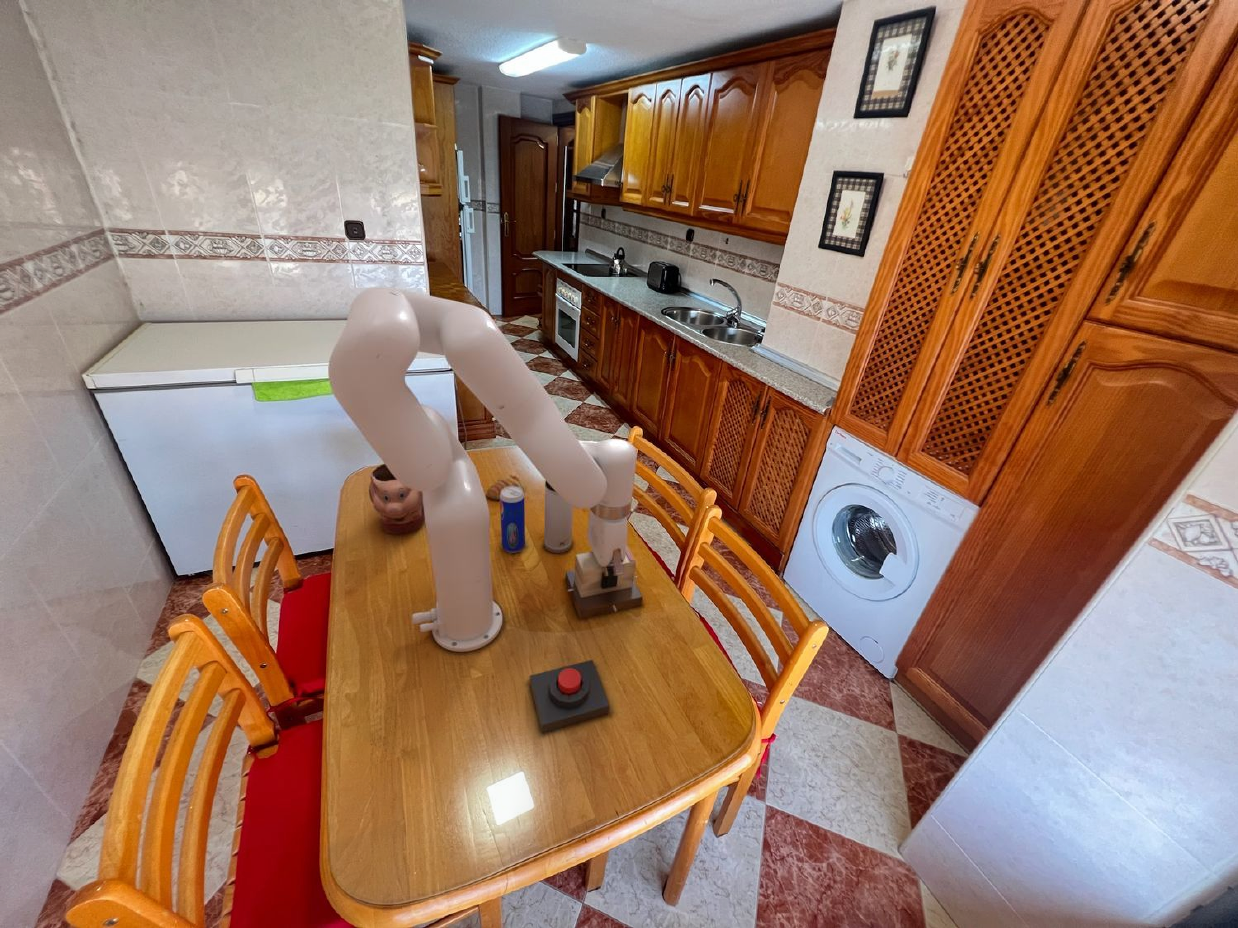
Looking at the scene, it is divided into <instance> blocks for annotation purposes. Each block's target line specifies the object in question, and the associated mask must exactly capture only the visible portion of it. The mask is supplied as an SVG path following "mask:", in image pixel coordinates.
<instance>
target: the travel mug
mask: <svg viewBox="0 0 1238 928" xmlns="http://www.w3.org/2000/svg"><path fill="white" fill-rule="evenodd" d="M573 522H574V507H572V506H570V505H569V504H567V503H566V502H565V501H564V500H563V499H562V498H561V497H560V496H559V494H558V493H557V492H556V491H555V490H554V489H553V488H552V487H551V486H550V484H549V483H548V482H547V481H546V480H545V479H544V537H543V538H544V540H543V544H544V548H545V549H546V550H547V551H549V552H551V553H554V554H562V553H565V552H567V551H569V550H570V549H571V547H572V544H573V543H572V541H573Z"/></svg>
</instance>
